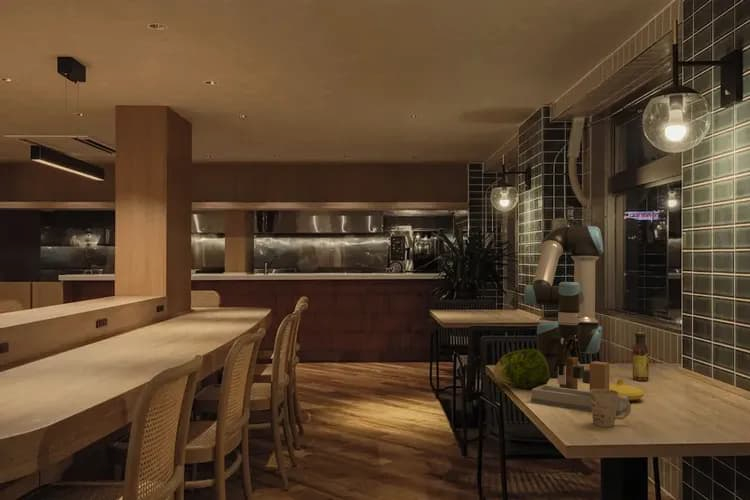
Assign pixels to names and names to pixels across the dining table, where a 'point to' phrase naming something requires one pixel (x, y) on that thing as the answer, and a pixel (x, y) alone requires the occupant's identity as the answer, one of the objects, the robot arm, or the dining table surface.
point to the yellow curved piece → (626, 390)
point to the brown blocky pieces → (578, 391)
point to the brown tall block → (572, 373)
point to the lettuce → (522, 369)
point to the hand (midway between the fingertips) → (568, 381)
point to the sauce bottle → (640, 358)
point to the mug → (606, 406)
